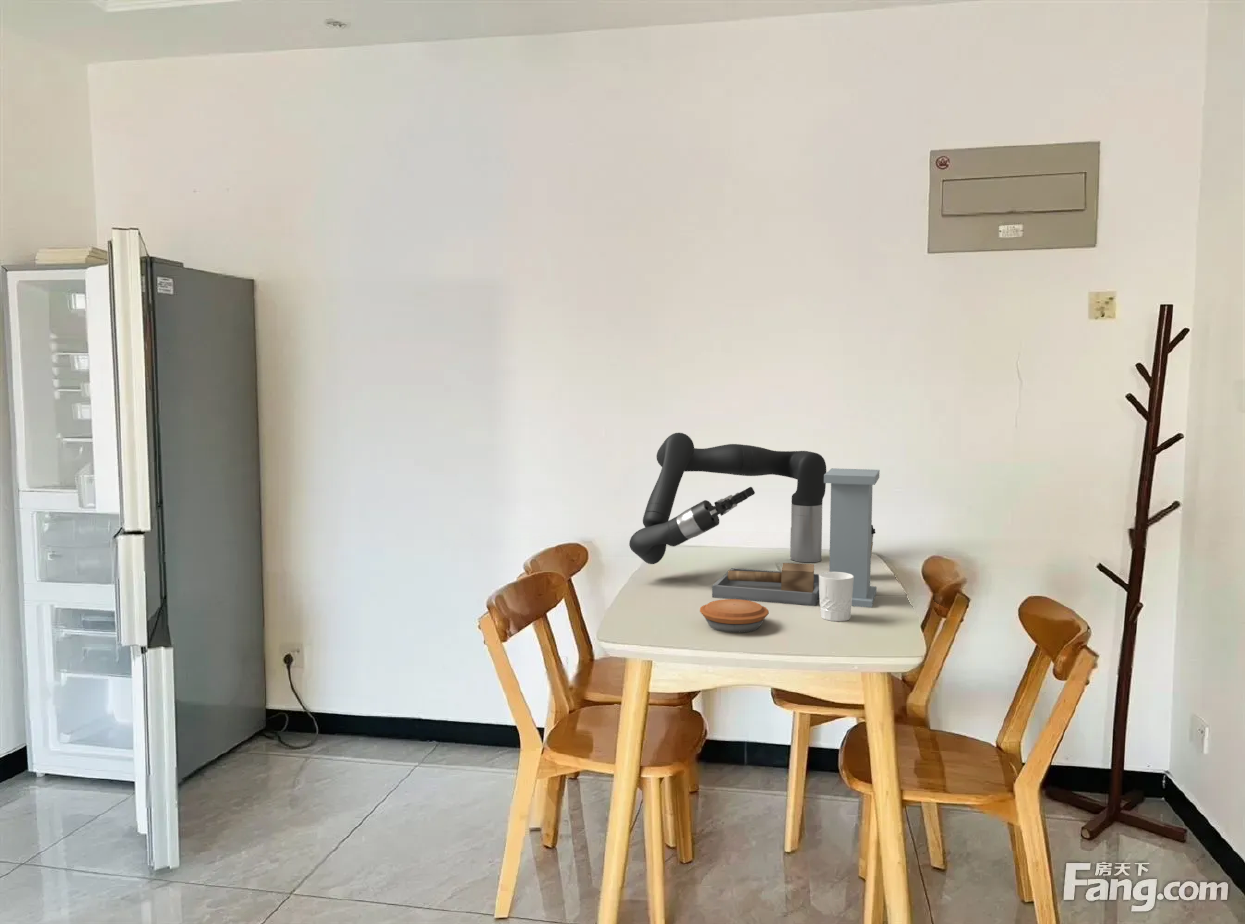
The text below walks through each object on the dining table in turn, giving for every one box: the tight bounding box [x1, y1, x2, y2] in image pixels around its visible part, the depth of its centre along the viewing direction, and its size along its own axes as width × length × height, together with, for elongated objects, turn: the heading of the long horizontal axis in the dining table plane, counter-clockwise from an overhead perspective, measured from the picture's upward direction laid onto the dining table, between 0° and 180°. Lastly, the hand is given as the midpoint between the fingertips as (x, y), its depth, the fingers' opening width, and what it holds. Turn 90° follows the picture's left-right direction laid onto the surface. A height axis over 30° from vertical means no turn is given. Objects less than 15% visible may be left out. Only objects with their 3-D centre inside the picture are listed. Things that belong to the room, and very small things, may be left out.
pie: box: [699, 598, 770, 633], centre depth 196 cm, size 15×16×5 cm
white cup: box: [818, 571, 854, 622], centre depth 202 cm, size 8×8×10 cm
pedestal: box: [824, 467, 880, 608], centre depth 219 cm, size 12×16×32 cm
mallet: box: [727, 562, 815, 593], centre depth 227 cm, size 22×9×6 cm, turn 77°
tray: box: [711, 567, 820, 607], centre depth 227 cm, size 26×22×3 cm
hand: (749, 492), depth 227 cm, fingers open, 8 cm apart
